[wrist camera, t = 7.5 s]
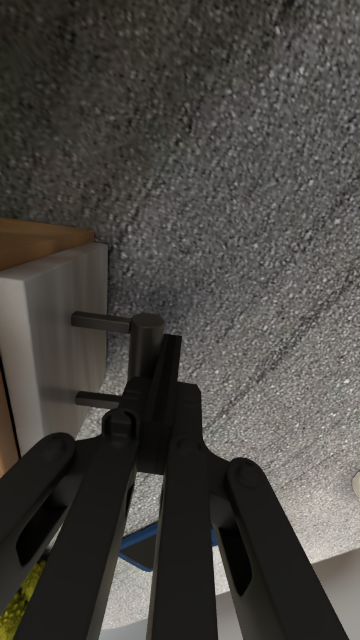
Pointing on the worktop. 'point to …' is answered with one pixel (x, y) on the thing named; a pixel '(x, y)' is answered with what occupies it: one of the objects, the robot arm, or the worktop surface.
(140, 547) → the cell phone
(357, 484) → the white cup
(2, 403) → the cabinet
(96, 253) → the drawer
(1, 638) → the vegetable
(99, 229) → the worktop surface
